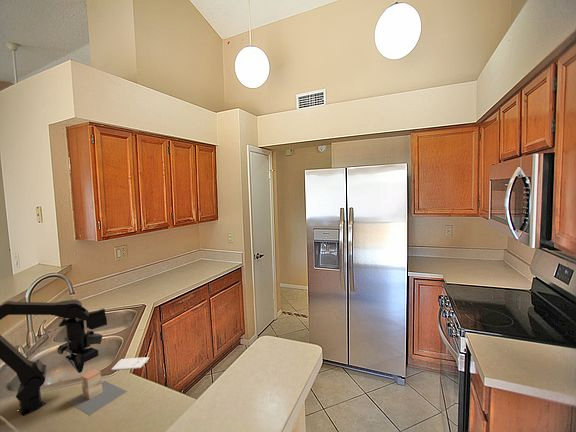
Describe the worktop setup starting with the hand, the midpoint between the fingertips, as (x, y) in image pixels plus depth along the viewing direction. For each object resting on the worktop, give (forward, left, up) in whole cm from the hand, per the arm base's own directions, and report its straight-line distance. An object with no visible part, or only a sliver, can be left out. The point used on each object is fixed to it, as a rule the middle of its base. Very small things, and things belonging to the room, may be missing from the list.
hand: (80, 372), depth 110 cm
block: (+8, 0, -6) cm, 10 cm away
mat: (+12, 0, -7) cm, 13 cm away
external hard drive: (+2, +19, -8) cm, 20 cm away
